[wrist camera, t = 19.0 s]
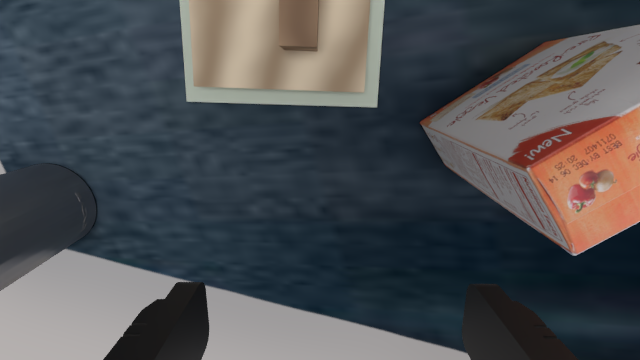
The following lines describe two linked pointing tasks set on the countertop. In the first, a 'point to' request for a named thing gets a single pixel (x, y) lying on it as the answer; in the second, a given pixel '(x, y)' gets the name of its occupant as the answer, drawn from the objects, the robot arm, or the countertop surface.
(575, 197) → the cracker box
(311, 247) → the countertop surface
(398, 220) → the countertop surface
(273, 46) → the lid
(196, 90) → the mat
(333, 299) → the countertop surface
